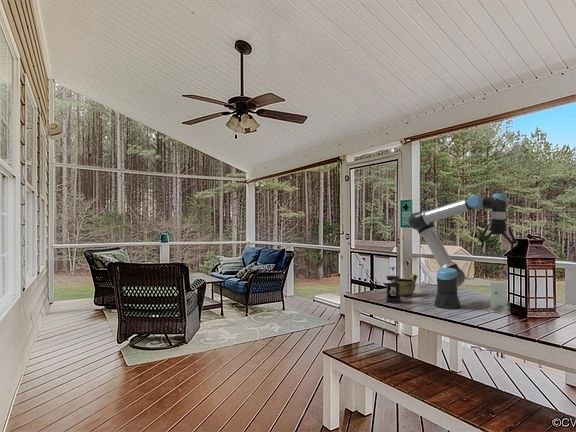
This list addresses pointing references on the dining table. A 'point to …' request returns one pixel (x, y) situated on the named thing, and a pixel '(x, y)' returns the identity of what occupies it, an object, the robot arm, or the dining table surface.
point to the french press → (393, 298)
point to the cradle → (500, 309)
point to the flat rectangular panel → (498, 293)
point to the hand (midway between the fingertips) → (496, 253)
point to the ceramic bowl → (405, 285)
